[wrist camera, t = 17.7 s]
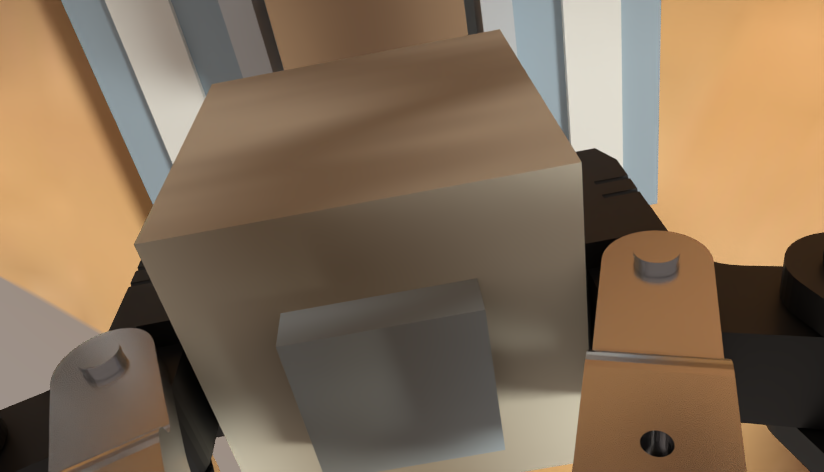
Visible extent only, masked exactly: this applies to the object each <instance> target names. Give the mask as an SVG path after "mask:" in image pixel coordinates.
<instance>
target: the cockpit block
mask: <svg viewBox="0 0 824 472" xmlns="http://www.w3.org/2000/svg"><path fill="white" fill-rule="evenodd" d="M134 246H135V248H136V250H137V252H138V254H139V256H140V258H141V260H142V263H143V265H144V267H145V269H146V271H147V273H148V275H149V277H150V279H151V281H152V284H153V286H154V288H155V290H156V292H157V294H158V296H159V298H160V300H161V303H162V305H163V307H164V309H165V311H166V313H167V315H168V317H169V319H170V322H171V324H172V326H173V328H174V330H175V332H176V334H177V336H178V338H179V341H180V343H181V345H182V347H183V349H184V351H185V353H186V355H187V357H188V360H189V362H190V364H191V366H192V368H193V370H194V372H195V374H196V376H197V378H198V381H199V383H200V385H201V387H202V389H203V391H204V393H205V395H206V397H207V400H208V402H209V404H210V406H211V408H212V410H213V412H214V414H215V416H216V419H217V421H218V423H219V425H220V427H221V429H222V431H223V433H224V435H225V437H226V440H227V442H228V443H229V446H230V448H231V450H232V452H233V454H234V457H235V459H236V461H237V463H238V465H239V467H240V469H241V471H242V472H525V471H531V470H537V469H543V468H549V467H555V466H561V465H567V464H572V463H573V460H574V451H575V442H576V434H577V425H578V416H579V407H580V399H581V390H582V381H583V372H584V364H585V357H586V352H587V350H589V343H588V316H587V290H586V263H585V237H584V210H583V184H582V162H581V160H580V159H579V157H578V155H577V154H576V152H575V151H574V149H573V147H572V146H571V144H570V142H569V141H568V139H567V138H566V136H565V134H564V133H563V131H562V129H561V128H560V126H559V125H558V123H557V121H556V120H555V118H554V116H553V115H552V113H551V112H550V110H549V108H548V107H547V105H546V103H545V102H544V100H543V99H542V97H541V95H540V94H539V92H538V91H537V89H536V87H535V86H534V84H533V82H532V81H531V79H530V78H529V76H528V74H527V73H526V71H525V69H524V68H523V66H522V65H521V63H520V61H519V60H518V58H517V56H516V55H515V53H514V52H513V50H512V48H511V47H510V45H509V43H508V42H507V40H506V39H505V37H504V35H503V34H502V32H501V30H500V29H498V30H493V31H488V32H483V33H477V34H472V35H467V36H462V37H456V38H451V39H446V40H441V41H435V42H430V43H425V44H420V45H414V46H409V47H404V48H399V49H393V50H388V51H383V52H378V53H372V54H367V55H362V56H357V57H352V58H346V59H341V60H336V61H331V62H325V63H320V64H315V65H310V66H304V67H299V68H294V69H289V70H283V71H278V72H273V73H268V74H262V75H257V76H252V77H247V78H241V79H236V80H231V81H226V82H220V83H215V84H212V85H211V87H210V89H209V91H208V93H207V95H206V97H205V100H204V102H203V104H202V106H201V108H200V110H199V112H198V114H197V116H196V118H195V120H194V122H193V124H192V126H191V128H190V130H189V132H188V134H187V137H186V139H185V141H184V143H183V145H182V147H181V149H180V151H179V153H178V155H177V157H176V159H175V161H174V163H173V165H172V167H171V169H170V171H169V173H168V176H167V178H166V180H165V182H164V184H163V186H162V188H161V190H160V192H159V194H158V196H157V198H156V200H155V202H154V204H153V206H152V208H151V210H150V213H149V215H148V217H147V219H146V221H145V223H144V225H143V227H142V229H141V231H140V233H139V235H138V237H137V239H136V241H135V243H134Z"/></svg>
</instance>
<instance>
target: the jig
mask: <svg viewBox="0 0 824 472" xmlns="http://www.w3.org/2000/svg"><path fill="white" fill-rule="evenodd" d="M61 1H62V4H63V6H64V8H65V10H66V13H67V15H68V17H69V19H70V21H71V24H72V26H73V28H74V30H75V33H76V35H77V37H78V39H79V41H80V44H81V46H82V48H83V50H84V53H85V55H86V57H87V59H88V61H89V64H90V66H91V68H92V70H93V73H94V75H95V77H96V79H97V81H98V84H99V86H100V88H101V90H102V93H103V95H104V97H105V99H106V101H107V104H108V106H109V108H110V110H111V113H112V115H113V117H114V119H115V121H116V124H117V126H118V128H119V130H120V133H121V135H122V137H123V139H124V141H125V144H126V146H127V148H128V150H129V153H130V155H131V157H132V159H133V161H134V164H135V166H136V168H137V170H138V173H139V175H140V177H141V179H142V181H143V184H144V186H145V188H146V190H147V193H148V195H149V197H150V199H151V201H152V204H154V202H155V200H156V198H157V196H158V194H159V192H160V190H161V188H162V186H163V184H164V182H165V180H166V178H167V176H168V173H169V171H170V169H171V167H172V165H173V163H174V161H175V159H176V157H177V155H178V153H179V151H180V149H181V147H182V145H183V143H184V141H185V139H186V137H187V134H188V132H189V130H190V128H191V126H192V124H193V122H194V120H195V118H196V116H197V114H198V112H199V110H200V108H201V106H202V104H203V102H204V100H205V97H206V95H207V93H208V91H209V89H210V87H211V85H212V84H215V83H220V82H226V81H231V80H236V79H241V78H247V77H252V76H257V75H262V74H268V73H273V72H278V71H283V70H284V68H283V64H282V61H281V57H280V54H279V50H278V47H277V43H276V40H275V36H274V33H273V29H272V26H271V22H270V19H269V15H268V12H267V8H266V4H265V1H264V0H61ZM464 6H465V14H466V22H467V30H468V35H472V34H477V33H483V32H488V31H493V30H498V29H500V30H501V32H502V34H503V35H504V37H505V39H506V40H507V42H508V43H509V45H510V47H511V48H512V50H513V52H514V53H515V55H516V56H517V58H518V60H519V61H520V63H521V65H522V66H523V68H524V69H525V71H526V73H527V74H528V76H529V78H530V79H531V81H532V82H533V84H534V86H535V87H536V89H537V91H538V92H539V94H540V95H541V97H542V99H543V100H544V102H545V103H546V105H547V107H548V108H549V110H550V112H551V113H552V115H553V116H554V118H555V120H556V121H557V123H558V125H559V126H560V128H561V129H562V131H563V132H564V134H565V136H566V137H567V139H568V140H569V142H570V144H571V145H572V147H573V149H574V150H575V152H577V151H582V150H588V149H593V148H596V149H598V150H599V151H601V152H603V153H605V154H607V155H609V156H611V157H613V158H615V159H617V161H618V162H619V163H620V165H621V166H622V168H623V169H624V170H625V172H626V173H627V175H628V178H630V179H631V180H632V182H633V183H634V184H635V186H636V187H637V190H638V192H639V191H640V193H641V194H642V196H643V197H644V198H645V200H646V201H647V203H648V204H649V205H651V204H657V188H658V134H659V81H660V28H661V0H464Z"/></svg>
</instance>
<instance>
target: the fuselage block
mask: <svg viewBox="0 0 824 472" xmlns="http://www.w3.org/2000/svg"><path fill="white" fill-rule="evenodd" d="M264 1H265V4H266V8H267V12H268V15H269V19H270V22H271V26H272V29H273V33H274V36H275V40H276V43H277V47H278V50H279V54H280V57H281V61H282V64H283V68H284V70H289V69H294V68H299V67H304V66H310V65H315V64H320V63H325V62H331V61H336V60H341V59H346V58H352V57H357V56H362V55H367V54H372V53H378V52H383V51H388V50H393V49H399V48H404V47H409V46H414V45H420V44H425V43H430V42H435V41H441V40H446V39H451V38H456V37H462V36H467V35H468V30H467V22H466V14H465V6H464V0H264Z"/></svg>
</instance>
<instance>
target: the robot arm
mask: <svg viewBox="0 0 824 472" xmlns="http://www.w3.org/2000/svg"><path fill="white" fill-rule="evenodd" d="M563 133H564V132H563ZM566 138H567V137H566ZM568 141H569V140H568ZM571 146H572V145H571ZM574 151H575V150H574ZM576 154H577V155H578V157H579V159H580V160H581V162H582V184H583V210H584V237H585V263H586V290H587V316H588V343H589V350H587V352H586V357H585V364H584V372H583V381H582V390H581V399H580V407H579V416H578V425H577V434H576V442H575V451H574V460H573V469H572V472H747V471H746V463H745V455H744V446H743V438H742V430H741V423H751V424H763V425H766V426H767V427H768V429H769V430H770V432H771V433H772V434H773V435H774V436H775V437H776V438H777V439H778V440H779V441H780V442H781V443H782V444H783V445H784V446H785V447H786V448H787V449H788V450H789V451H790V452H791V453H792V454H793V455H794V456H795V457H796V458H797V459H798V460H799V461H800V462H801V463H802V464H803V465H804V466H805V467H806V468H807V469H808V470H809V471H810V472H824V233H818V234H812V235H809V236H805V237H803V238H801V239H799V240H797V241H795V242H794V243H792V244H791V245H790V246H789V247H788V249H787V251H786V253H785V257H784V264H783V267H781V266H740V265H728V264H721V263H717V262H714V261H713V257H712V255H711V253H710V251H709V250H708V249H707V248H706V247H705V246H704V245H703V244H701V243H700V242H699V241H697V240H695V239H693V238H691V237H688V236H686V235H683V234H679V233H675V232H669V231H668V230H667V229H666V228H665V226H664V225H663V223H662V222H661V221H660V219H659V218H658V216H657V215H656V214H655V212H654V211H653V209H652V208H651V207H650V205H649V204H648V203H647V201H646V200H645V198H644V197H643V196H642V194H641V193H640V191H639V192H638V190H637V187H636V186H635V184H634V183H633V182H632V180H631V179H630V178H628V175H627V173H626V172H625V170H624V169H623V168H622V166H621V165H620V163H619V162H618V161H617V159H615V158H613V157H611V156H609V155H607V154H605V153H603V152H601V151H599V150H598V149H596V148H593V149H588V150H582V151H577V152H576ZM221 436H225V435H224V433H223V431H222V429H221V427H220V425H219V423H218V421H217V419H216V416H215V414H214V412H213V410H212V408H211V406H210V404H209V402H208V400H207V397H206V395H205V393H204V391H203V389H202V387H201V385H200V383H199V381H198V378H197V376H196V374H195V372H194V370H193V368H192V366H191V364H190V362H189V360H188V357H187V355H186V353H185V351H184V349H183V347H182V345H181V343H180V341H179V338H178V336H177V334H176V332H175V330H174V328H173V326H172V324H171V322H170V319H169V317H168V315H167V313H166V311H165V309H164V307H163V305H162V303H161V300H160V298H159V296H158V294H157V292H156V290H155V288H154V286H153V284H152V281H151V279H150V277H149V275H148V273H147V271H146V269H145V267H144V265H143V263H142V260H141V261H140V263H139V266H138V271H136V272H135V274H134V277H133V279H132V281H131V287H129V288H128V290H127V292H126V294H125V296H124V298H123V301H122V303H121V305H120V307H119V309H118V312H117V314H116V316H115V318H114V320H113V323H112V325H111V327H110V329H109V331H108V332H105V333H102V334H100V335H98V336H95V337H93V338H91V339H89V340H87V341H85V342H84V343H82V344H81V345H79V346H78V347H77V348H75V349H74V350H72V351H71V352H70V353H69V354H68V355H67V356H66V357H65V358H63V360H62V361H61V362H60V363H59V364H58V366H57V367H56V369H55V370H54V373H53V375H52V377H51V382H50V390H49V391H46V392H44V393H42V394H39V395H37V396H34V397H32V398H29V399H27V400H24V401H22V402H19V403H17V404H15V405H12V406H9V407H7V408H5V409H2V410H0V472H220V470H219V467H218V465H217V463H216V461H215V459H214V457H213V455H212V453H213V448H214V444H215V439H216V437H221Z"/></svg>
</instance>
